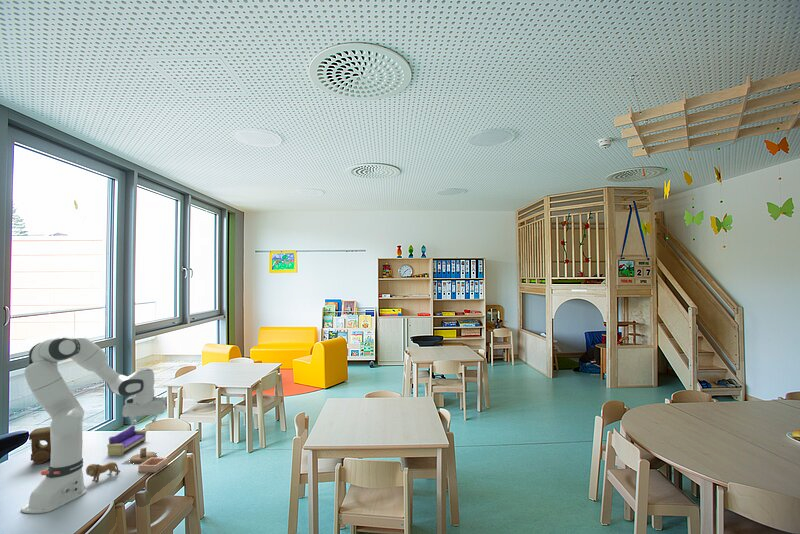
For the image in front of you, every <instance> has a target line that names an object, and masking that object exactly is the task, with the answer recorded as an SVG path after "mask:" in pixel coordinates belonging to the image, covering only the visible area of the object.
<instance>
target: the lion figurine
mask: <svg viewBox="0 0 800 534" xmlns="http://www.w3.org/2000/svg"><path fill="white" fill-rule="evenodd" d="M107 471H109V473H107V474H106V475H107V476H110V475H111V474H112V473H113V472H114V473H115V475H114V476H117V475H119V473H120V472H121V470H119V466H118V464H117V463H116V462H113V461H112V462H108V463H106V464H104V465H101V464H96V463H92V464H89V465H87V466H86V469H85V473H86V475H87V476H89V477H93V479H92V480H91V481H92V482H94V481H95V483H98V482H99V481H100V474H104V473H106V472H107Z"/></svg>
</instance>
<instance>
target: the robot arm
mask: <svg viewBox="0 0 800 534" xmlns="http://www.w3.org/2000/svg"><path fill="white" fill-rule="evenodd" d="M68 359H71V360H72V361H73V362H75V363H76V364H77V365H78V366H80V367H81V368H83V369H85V370H87V371H88V372H93V373H94V374H96V375H97V376H98V377H100V378H101V379H102V380H103V381H104V382H105V384H106V386H107V388H108V390H109V391H110V392H111V393H112V394H116V395H119V396H121V397H125V398H126V397H128V398H126V399H125V400H124V405H123V406H122V414H121V416H123V417H124V418H128V417H129V419H130V420H131V422H132V424H131V425H137V424H138V422H137V419H135V417H139V416H151V415H154V417H153V418H152V419H151V423H156V422H157V418H158V417H159V415H161V414H164V413H165V412H166V410H167V408H166V400H167V399H166V397H164V396H155V389H154V388H155V387H154V386H155V373H154V370H153V369H152V368H151V369H150V368H146V367H145V368H137V370H136V371H135V372H133V373H131V374H130V375H128V376H127V375H125V374H123V373H122V374H121V373H119V372H117V371H116V370H115V369H113V368H112V366H110V365H109V364H108V363H107V361H108V355H107V354H106V352H105V351H104V350H103V349H102V348H101V347H100V346H99V345H97V344H96V343H95V342H93V341H92V340H90V339H88V338H86V336H83V335H77V336H74V337H67V336H62V337H61V336H60V337H57V338H51V339H47V340H44V341H42V342H38V343H36V344H35V345H34V346H32V347H31V348H30V350H29V352H28V360H29V362H28V363H29V365H27V367H26V368H25V369H24V376H25V380H26V383H27V385H28V387H29V389H30V390H31V393H32V394H33V395H34V397H35V399H36V401H37V402H38V405H39V406H40V408H41V407H42V409H43V410H44V411H45V412H46V413H47V414H48V416H49V417H50V418H51V422H50V426H49V427H50V439H51V457H50V463H49V464H50V465H48V468H47V469H42V470H41V472H40V475H41V476H45V477H44V478H43V479H42V481H40V483H39V484H38V485H37V486H36V487H35V488H34V489H33V491H31V494H30V496H29V499H28V502H27V503H26V504H24V505H23V506H22V507H21V508H20V511H21V513H26V514H42V513H50V512H52V511H54V510H56V509H58V508H60V507H62V506H63V505H66V504H67V503H70V502H72V501H73V500H75V499H77V498H80V497H81V496H83V495H85V494H86V493H87V491H86V485H85V481H84V473H83V467H84V458H83V441H84V440H83V423H84V417H85V410H84V408H83V407H82V405H81V403H80V402H79V401H78V400H77V398H76V397H75V395H74V394H73V393H72V392H71V390H70V388H69V387H68V384H67V383H66V381H65V379H64V378H63V376H62V374H61V372H60V371H59V368H58V364H59V362H62V361H64V360H65V361H66V360H68Z"/></svg>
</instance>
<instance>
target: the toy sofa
mask: <svg viewBox="0 0 800 534" xmlns="http://www.w3.org/2000/svg"><path fill="white" fill-rule="evenodd" d="M146 435H147V430H146V429H143V430H142V429H141V430H140V429H139V430H137V429H136V426H135V424H131V425H130V426H129V427H128V428H125V429H124V430H122V431H121V432H119V433H117V434H115V435H112V436H109V437H108V443H107V445H106V448H107V456H108V455H110V456H124V452H126V451H128V450H129V449H132V448H133V447H134V446H136V445H138V444H140V443H142V442H141V441H145V442H146V439H147V436H146Z"/></svg>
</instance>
